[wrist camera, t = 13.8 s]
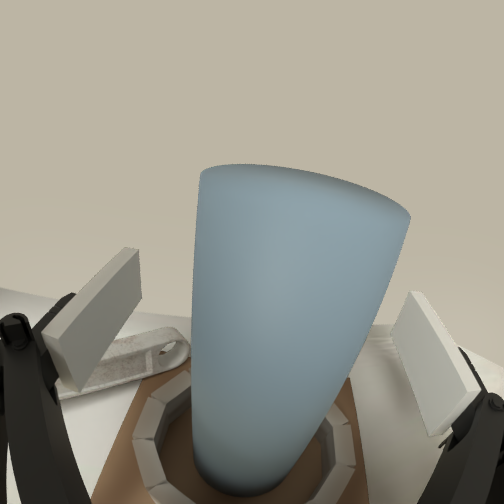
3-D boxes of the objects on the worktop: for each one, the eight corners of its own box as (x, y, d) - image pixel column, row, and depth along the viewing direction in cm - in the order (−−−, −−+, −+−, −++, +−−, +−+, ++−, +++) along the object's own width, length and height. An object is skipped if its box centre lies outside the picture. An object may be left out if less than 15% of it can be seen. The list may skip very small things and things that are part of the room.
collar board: (85, 527, 8) (63, 515, 7) (157, 356, 23) (154, 326, 21) (367, 563, 8) (395, 556, 6) (346, 383, 22) (359, 356, 21)
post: (184, 487, 12) (166, 195, 5) (203, 411, 18) (222, 157, 11) (289, 501, 12) (449, 245, 5) (290, 424, 18) (374, 185, 11)
